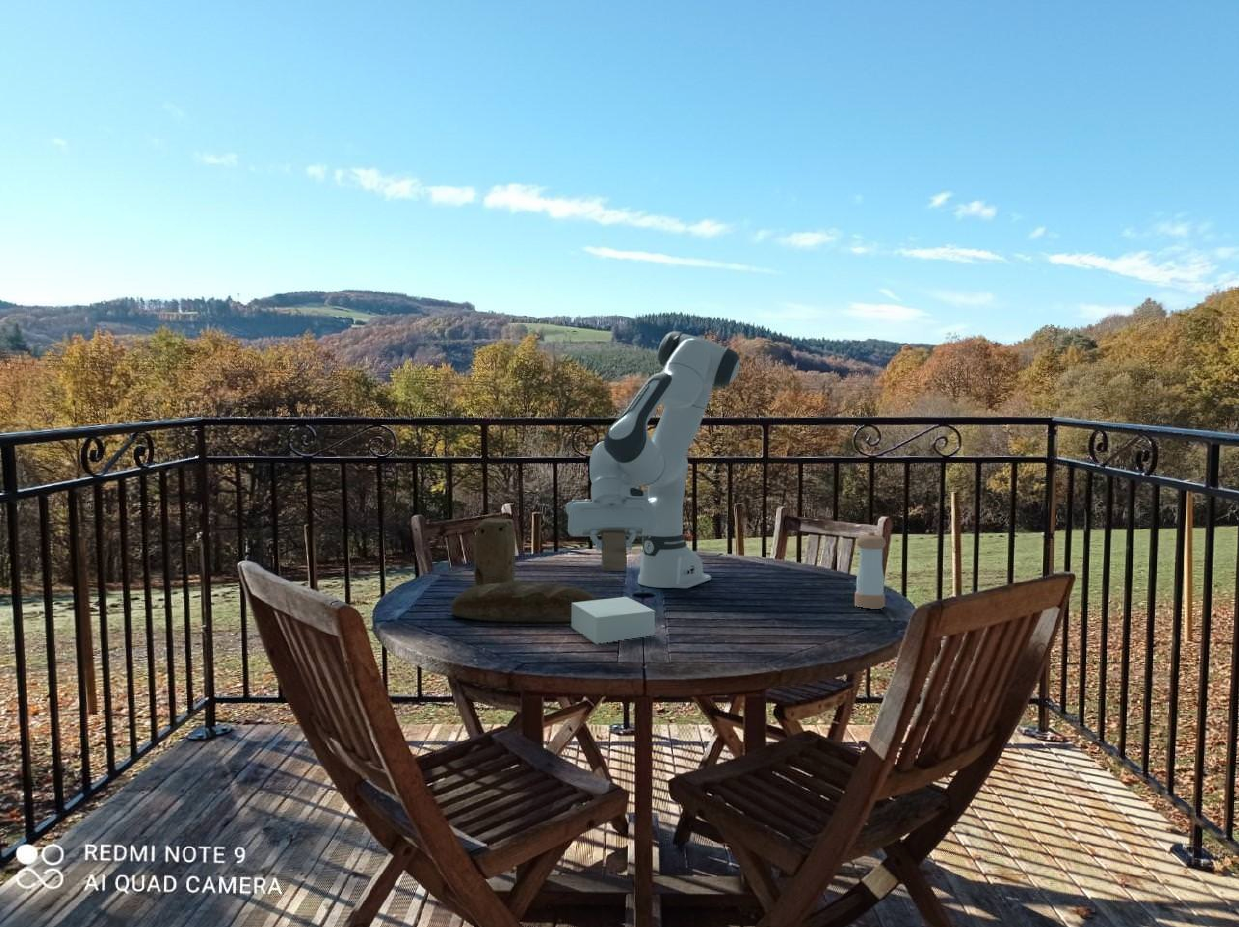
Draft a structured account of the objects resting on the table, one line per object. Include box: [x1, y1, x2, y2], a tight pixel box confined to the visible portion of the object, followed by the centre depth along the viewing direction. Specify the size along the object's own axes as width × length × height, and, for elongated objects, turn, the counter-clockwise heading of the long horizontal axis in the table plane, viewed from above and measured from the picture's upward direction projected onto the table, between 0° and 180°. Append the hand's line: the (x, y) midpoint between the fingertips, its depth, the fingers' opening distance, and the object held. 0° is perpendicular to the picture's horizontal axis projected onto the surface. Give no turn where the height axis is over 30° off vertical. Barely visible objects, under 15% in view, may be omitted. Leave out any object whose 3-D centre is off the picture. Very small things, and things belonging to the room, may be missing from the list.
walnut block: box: [601, 530, 627, 571], centre depth 175 cm, size 5×5×8 cm
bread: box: [450, 580, 599, 624], centre depth 189 cm, size 16×36×8 cm, turn 86°
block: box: [473, 517, 516, 587], centre depth 212 cm, size 11×8×20 cm
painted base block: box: [570, 596, 656, 645], centre depth 176 cm, size 14×14×6 cm
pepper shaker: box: [854, 530, 887, 609], centre depth 198 cm, size 7×7×19 cm
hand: (614, 548), depth 174 cm, fingers closed on walnut block, 5 cm apart
